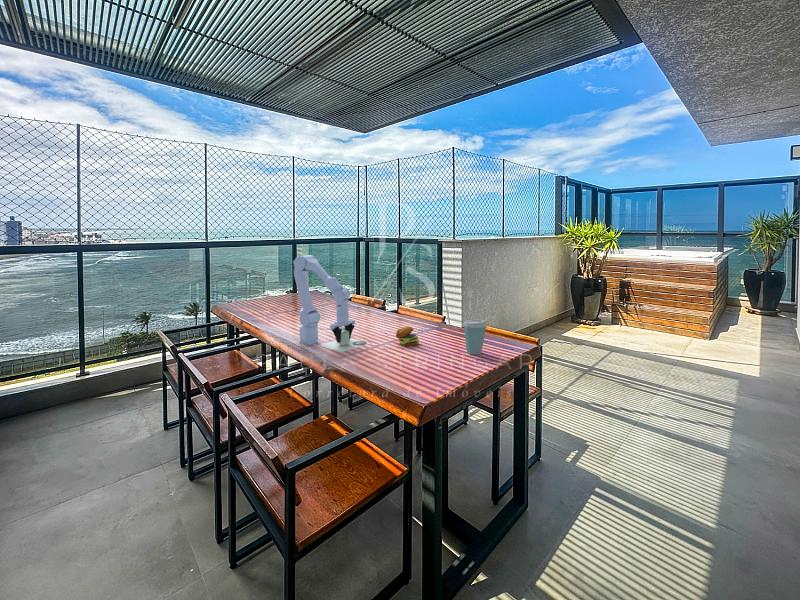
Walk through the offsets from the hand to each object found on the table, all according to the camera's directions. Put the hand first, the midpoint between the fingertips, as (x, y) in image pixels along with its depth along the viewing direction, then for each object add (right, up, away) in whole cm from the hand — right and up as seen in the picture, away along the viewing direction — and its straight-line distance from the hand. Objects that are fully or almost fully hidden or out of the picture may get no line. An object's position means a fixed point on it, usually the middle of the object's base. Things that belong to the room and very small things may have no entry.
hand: (343, 340), depth 184 cm
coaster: (+8, -2, +3) cm, 8 cm away
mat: (0, -2, +2) cm, 3 cm away
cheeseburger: (+31, -2, +3) cm, 32 cm away
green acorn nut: (0, -1, 0) cm, 1 cm away
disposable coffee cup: (+61, -4, -12) cm, 63 cm away
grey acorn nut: (-1, -1, +9) cm, 9 cm away
